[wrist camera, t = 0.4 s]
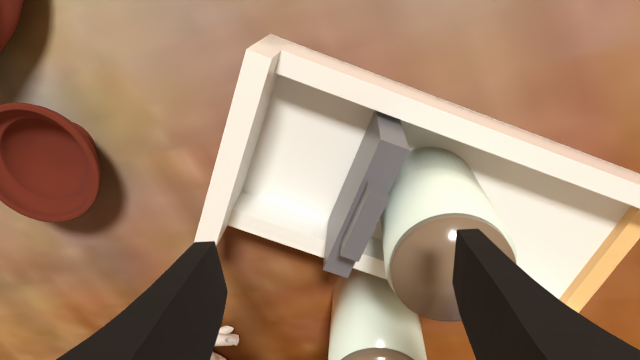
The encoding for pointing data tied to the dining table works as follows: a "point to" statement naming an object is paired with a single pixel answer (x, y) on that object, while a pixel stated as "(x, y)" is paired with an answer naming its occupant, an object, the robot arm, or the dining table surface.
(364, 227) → the pusher
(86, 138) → the pottery
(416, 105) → the tray
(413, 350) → the jar
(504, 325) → the robot arm
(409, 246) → the stocked jar
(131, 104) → the dining table surface
